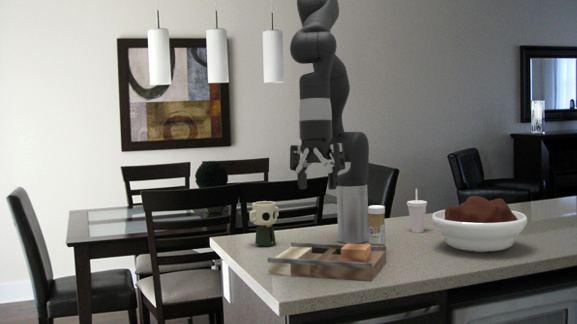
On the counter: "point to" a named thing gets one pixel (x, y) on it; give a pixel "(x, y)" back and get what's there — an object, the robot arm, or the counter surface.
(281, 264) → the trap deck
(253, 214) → the character mug
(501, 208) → the chocolate pudding bowl
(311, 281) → the counter surface
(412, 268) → the counter surface
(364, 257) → the terracotta block
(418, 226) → the smoothie
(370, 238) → the sprinkles bottle
